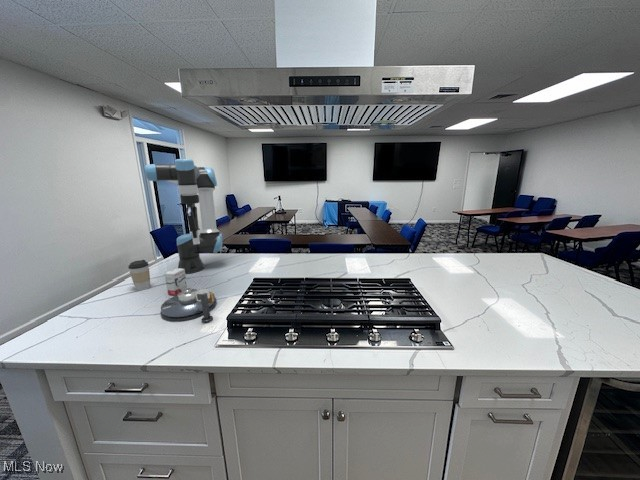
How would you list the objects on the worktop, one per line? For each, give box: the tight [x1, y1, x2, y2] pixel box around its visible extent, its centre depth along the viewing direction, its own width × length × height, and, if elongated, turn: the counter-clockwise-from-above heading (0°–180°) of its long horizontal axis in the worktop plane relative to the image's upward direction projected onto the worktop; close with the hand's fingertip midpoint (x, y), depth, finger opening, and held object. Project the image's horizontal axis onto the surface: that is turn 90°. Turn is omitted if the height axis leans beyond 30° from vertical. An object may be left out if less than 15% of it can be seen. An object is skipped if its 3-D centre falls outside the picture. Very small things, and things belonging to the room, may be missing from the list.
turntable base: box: [160, 297, 218, 323], centre depth 115 cm, size 23×23×1 cm
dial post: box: [196, 288, 214, 324], centre depth 104 cm, size 5×5×13 cm
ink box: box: [164, 267, 188, 296], centre depth 130 cm, size 9×5×12 cm, turn 167°
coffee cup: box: [128, 259, 151, 291], centre depth 135 cm, size 9×9×15 cm
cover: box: [178, 287, 199, 305], centre depth 114 cm, size 8×8×6 cm
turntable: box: [160, 291, 216, 318], centre depth 114 cm, size 22×22×6 cm
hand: (196, 243), depth 120 cm, fingers closed
